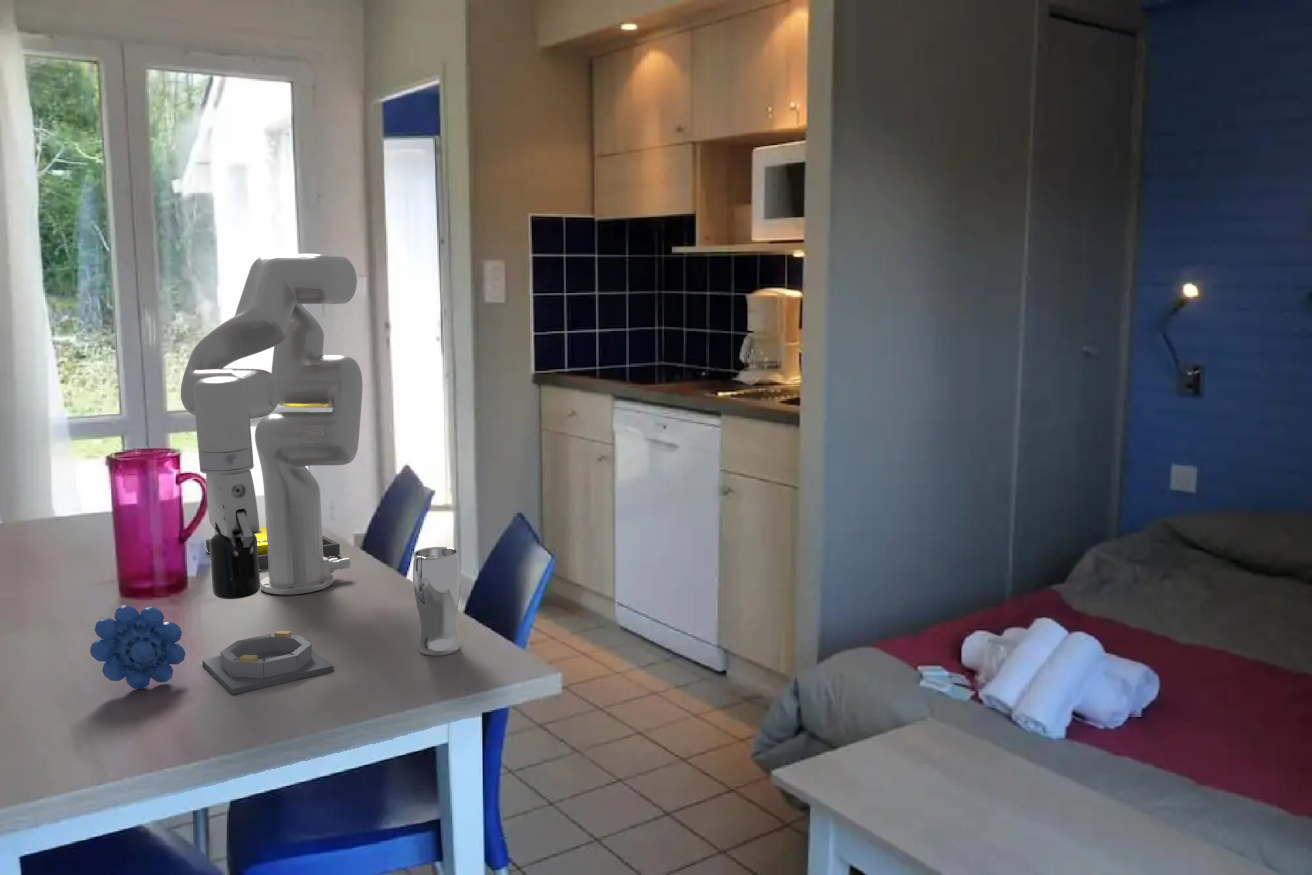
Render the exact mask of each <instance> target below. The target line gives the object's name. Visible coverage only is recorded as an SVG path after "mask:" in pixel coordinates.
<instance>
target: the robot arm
mask: <svg viewBox="0 0 1312 875" xmlns="http://www.w3.org/2000/svg"><path fill="white" fill-rule="evenodd" d="M357 280H358V278H357V272H356V270H355V267H354V265H353V263H352V262H351V261H350V260H349V258H347V257H345V256H337V255H328V254H320V253H319V254H318V253H272V254H265V255H262V256H260V257H258V258H256V260H255V261H254V262H253V263H252V264H251V267H250V269H249V272H248V274H247V277H246V280H245V282H244V286H243V289H242V293H241V295H240V298H239V301H238V305H237V307H236V311H235V315H234V316H232V317H231V318H229V319H228V320H226V321H225V322H223V323H221V324H220V325H218V326H217V327H215V329H213V330H212V331H210V332H209V333H207V334H206V336H204V337H203V338H202V339H201V340H200V341H199V342H198V343H196V346H195V347H194V348H193V349H192V352H191V354H190V356H189V358H188V361H187V364H186V368H185V370H184V373H183V376H182V380H181V384H180V386H181V387H180V398H181V404H182V405H183V406H182V407H184V409H185V410H186V411H187V413H189V414H190V415H193V416H194V417H195V425H196V426H195V428H196V438H197V439H196V440H197V450H198V451H197V452H198V461H199V472H200V473H201V474H206V475H205V483H206V484H205V485H206V502H207V512H208V514H207V515H208V519H209V520H208V521H209V523H210V525H211V527H212V528H213V529H214V535H216V534H217V532H216V531H215V523H216V524H217V525H218V528H219V530H220V532H221V534H222V535H224V536H226V537H228V538H229V540H230V545H231V549H232V554H233V555H232V556H230V559H231V571H232V580H233V581H235V582H237V581H242V580H247V579H252V578H254V577H255V570H254V558H253V546H252V545H253V542H252V540H253V534H252V533H254V534H257V533H258V532H259V530H260V528H261V526H260V521H259V520H260V519H259V510H258V502H257V497H256V489H255V484H254V480H253V475H252V471H251V470H252V469H254V466H255V464H254V454H253V443H252V431H251V430H252V429H251V428H252V427H251V419H256V418H257V419H258V418H261V419H260V420H259V421H258V422H257V424H256V427H255V432H254V442H255V446H256V450H257V455H258V459H259V464H260V467H261V474H262V483H263V494H264V496H263V497H264V512H265V514H264V515H265V527H266V533H267V550H268V568H267V569H268V575H267V576H265V577H264V578H262V579H261V580H260V590H261V591H263V592H265V593H266V594H273V595H279V596H281V595H282V596H284V595H289V596H290V595H302V594H308V593H314V592H318V591H322V590H324V589H327V588H328V587H330V586H331V585H333V584H334V575H333V573H334V572H335V571H337V570H340V571H341V570H345V569H350V568H351V560H350V558H349V557H345V558H344V557H343V558H340V559H338V557H332V558H325V557H324V556H323V539H322V535H323V524H322V522H323V521H322V503H321V502H322V501H321V500H322V499H321V488H320V485H319V483H318V482H317V479H316V478H315V477H314V475H313V474H312V472H311V471H310V470H309V469H308V468H307V467H309V466H310V467H311V466H344V465H347V464H350V463H352V462H353V461H354V460H355V458H356V457H357V453H358V448H359V440H360V429H361V428H360V427H361V413H362V402H363V401H362V400H363V375H362V371H361V367H360V365H359V364H358V362H357V361H356V360H355V359H354V358H353V357H350V356H348V355H341V354H323V353H324V343H325V342H324V340H325V334H324V330H323V328H322V326H321V325H320V324H319V322H318V320H317V319H316V318H315V317H314V316H313V315H312V314H311V312H309V311H308V310H307V308H305V306H304V305H305V304H306V305H308V304H309V305H312V304H313V305H317V304H319V305H320V304H325V305H326V304H327V305H340V304H347V303H349V302H350V301H351V300H352V299H353V298H354V295H355V293H356V290H357V285H358V281H357ZM271 348H273V352H272V353H273V354H272V364H271V372H270V371H267V370H265V369H258V368H225V367H227V366H228V365H230V364H232V363H235V362H236V361H239V360H241V359H243V358H246V357H247V358H248V357H250V356H252V355H256V354H259V353H261V352H264V351H266V350H269V349H271ZM278 405H279V406H283V407H286V408H300V409H301V408H304V409H305V408H307V409H308V408H311V409H312V408H313V409H314V408H315V409H321V408H322V409H325V408H326V409H328V408H329V409H330V408H331V409H332V411H282V412H281V411H279V412H274V410H276V408H277V407H278ZM236 531H240V533H241V534H236V535H234V534H233V532H236ZM237 539H241V541H239V542H238V545H236V540H237Z"/></svg>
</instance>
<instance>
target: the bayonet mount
mask: <svg viewBox="0 0 1312 875" xmlns="http://www.w3.org/2000/svg"><path fill="white" fill-rule="evenodd" d="M312 645H313V644H312V643H311V642H310V641H309V640H307V639H306V638H305V637H303V636H302V635H299V634H292V631H291V630H277V631H275V632H274V634H272V633H270V634H265V635H259V636H255V637H249V638H245V639H239V640H237V641H235V642H233V643H232V644H230V645H228V647H226V648H224V649H223V650H221V651H220V655H219V656H215V657H209V658H205V659H202V662H201V663H202V666H203V667H204V668H205V669H206V670H207V671H208V672H209V673H210V674H211V675H212V676H213V677H214V678H215V679H216V680H217V681H218V682H219V683H221V685H222V686H223V687H224V688H225V689H226V690H227V691H228V692H229V693H230V694H232V696H233V695H238V694H242V693H246V692H251V691H254V690H259V689H262V688H263V689H264V688H266V687H271V686H277V685H280V684H285V683H287V682H292V681H297V680H301V679H305V678H311V677H315V676H318V675H323V674H327V673H331V672H334V671H335V670H334V665H333V664H332V663H331V662H329V661H328V660H326V659H325V658H324V657H323V656H321V655H320V654H318V653H317V652H316V651H314V650H313V648H312V647H313V646H312Z"/></svg>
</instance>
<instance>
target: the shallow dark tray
mask: <svg viewBox="0 0 1312 875" xmlns="http://www.w3.org/2000/svg"><path fill="white" fill-rule="evenodd" d="M211 539H212V538H208V539H205V545H206V546H205V547H206V548H207V550H208V552H210V540H211ZM322 539H323V556H324V557H325V558H326V557H329V556H338V555H340V556H341V549H340V543H339V542H336V541H335V540H333V539H330V538H328V537H327V536H325V535H323V534H322ZM206 548H205V549H206ZM207 550H206V551H207ZM208 552H207V553H208ZM338 557H339V556H338ZM258 559H259V569H260V570H265V569H269V568H268V554H265V555H259V556H258Z"/></svg>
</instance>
